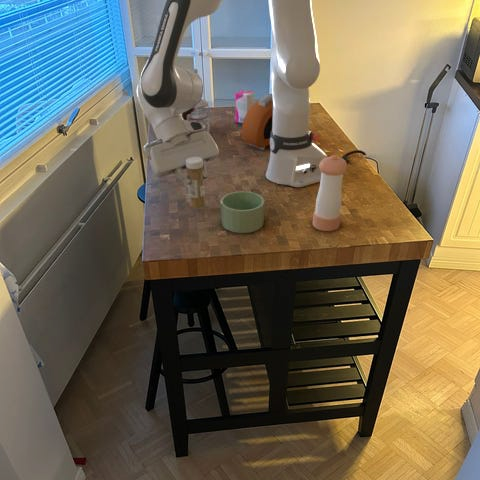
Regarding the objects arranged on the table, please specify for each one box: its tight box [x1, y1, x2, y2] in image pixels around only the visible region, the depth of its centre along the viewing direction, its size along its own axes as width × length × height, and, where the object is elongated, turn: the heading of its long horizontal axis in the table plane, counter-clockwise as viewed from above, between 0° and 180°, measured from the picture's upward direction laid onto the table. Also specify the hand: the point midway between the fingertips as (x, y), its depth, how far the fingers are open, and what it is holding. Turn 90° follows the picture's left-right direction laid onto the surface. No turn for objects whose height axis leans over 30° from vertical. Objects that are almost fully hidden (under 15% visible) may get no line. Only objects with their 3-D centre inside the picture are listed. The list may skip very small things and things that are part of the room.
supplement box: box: [234, 90, 255, 125], centre depth 191 cm, size 6×6×12 cm
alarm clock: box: [241, 93, 273, 151], centre depth 172 cm, size 23×9×17 cm, turn 129°
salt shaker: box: [312, 154, 348, 232], centre depth 123 cm, size 7×7×19 cm
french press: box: [187, 68, 212, 134], centre depth 170 cm, size 10×12×25 cm
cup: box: [220, 190, 265, 234], centre depth 129 cm, size 12×12×6 cm
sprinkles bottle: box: [186, 157, 206, 209], centre depth 131 cm, size 5×5×14 cm
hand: (197, 181), depth 130 cm, fingers closed on sprinkles bottle, 4 cm apart
